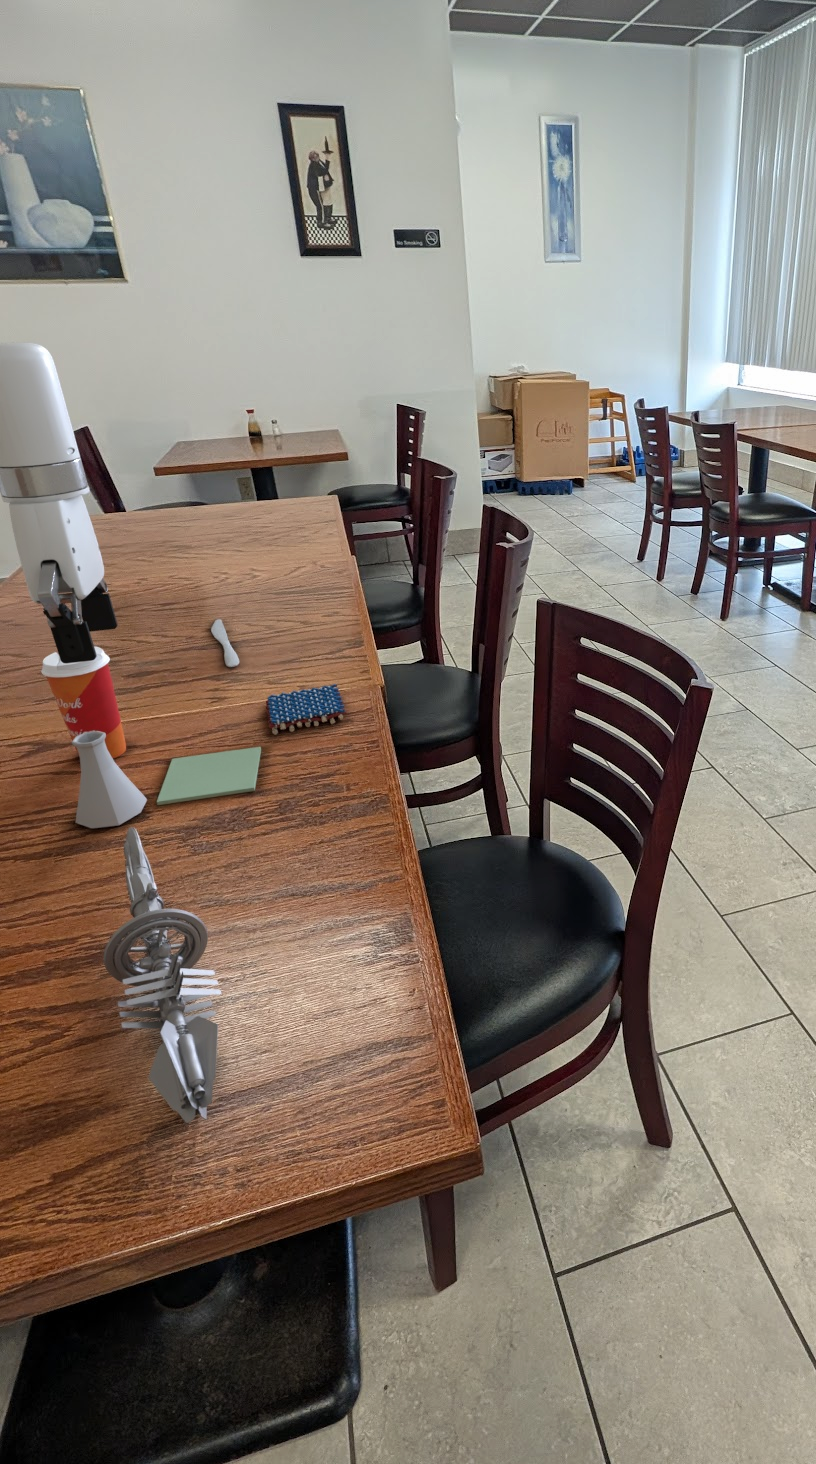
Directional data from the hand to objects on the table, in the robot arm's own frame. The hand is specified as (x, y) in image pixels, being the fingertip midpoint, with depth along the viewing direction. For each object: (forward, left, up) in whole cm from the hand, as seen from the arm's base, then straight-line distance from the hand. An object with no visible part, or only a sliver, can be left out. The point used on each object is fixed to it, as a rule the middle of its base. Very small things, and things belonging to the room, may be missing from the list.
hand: (91, 644), depth 88 cm
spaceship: (+8, -32, -21) cm, 39 cm away
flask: (-3, 0, -21) cm, 21 cm away
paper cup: (-8, +16, -21) cm, 27 cm away
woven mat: (+18, +20, -21) cm, 34 cm away
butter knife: (+3, +55, -21) cm, 59 cm away
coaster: (+7, +5, -20) cm, 22 cm away
